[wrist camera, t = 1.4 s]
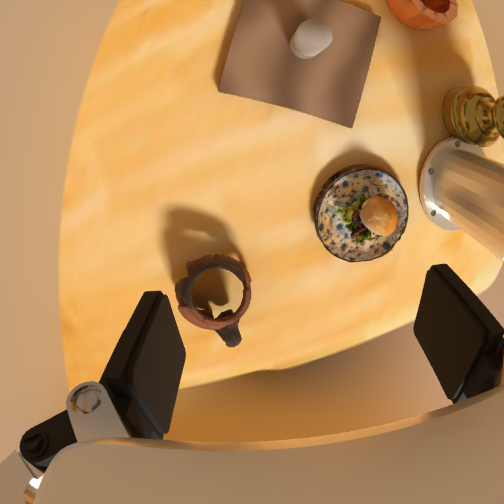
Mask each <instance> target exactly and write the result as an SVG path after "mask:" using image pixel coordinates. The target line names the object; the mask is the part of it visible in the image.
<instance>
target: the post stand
mask: <svg viewBox="0 0 504 504" xmlns="http://www.w3.org/2000/svg"><path fill="white" fill-rule="evenodd" d="M380 19H381V17H380V16H377V15H375V14H373V13H371V12H369V11H366V10H364V9H361V8H359V7H357V6H354V5H352V4H349V3H347V2H344V1H341V0H244V3H243V6H242V9H241V12H240V15H239V18H238V22H237V25H236V28H235V31H234V35H233V38H232V41H231V45H230V48H229V52H228V55H227V59H226V63H225V66H224V70H223V74H222V77H221V81H220V85H219V89H218V92H221V93H226V94H231V95H236V96H240V97H245V98H249V99H254V100H258V101H262V102H266V103H270V104H274V105H278V106H281V107H285V108H289V109H292V110H296V111H299V112H303V113H306V114H309V115H312V116H316V117H319V118H322V119H325V120H328V121H331V122H334V123H337V124H340V125H343V126H345V127H349V128H352V127H353V123H354V120H355V117H356V113H357V110H358V106H359V103H360V99H361V95H362V92H363V88H364V84H365V81H366V77H367V73H368V69H369V65H370V61H371V57H372V53H373V49H374V45H375V41H376V37H377V32H378V28H379V23H380Z"/></svg>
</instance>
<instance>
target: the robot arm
mask: <svg viewBox="0 0 504 504" xmlns="http://www.w3.org/2000/svg"><path fill="white" fill-rule="evenodd" d="M419 191H420V200H421V204H422V207H423V209H424V212H425V214H426V215H427V217H428V218H429V219H430V220H431V221H432V222H433V223H434V224H435V225H437V226H438V227H440V228H442V229H444V230H450V231H454V230H459V229H462V230H463V231H465V232H466V233H467V234H469V235H470V236H471V237H473V238H474V239H475V240H476V241H478V242H479V243H480V244H482V245H483V246H484V247H485V248H487V249H488V250H489V251H490V252H492V253H493V254H494V255H495V256H496V257H498V258H499V259H500V260H501V261H502V262H504V164H503V163H500V162H498V161H495V160H492V159H490V158H487V157H486V156H485V154H484V152H483V151H482V150H481V148H480V147H479V146H478V145H470V144H466V143H463V142H461V141H460V140H459V139H457V138H455V137H450V138H447V139H445V140H443V141H441V142H440V143H438V144H437V145H436V146H435V147H434V148H433V149H432V151H431V152H430V153H429V155H428V157H427V159H426V160H425V163H424V165H423V168H422V172H421V176H420V185H419ZM414 334H415V336H416V338H417V340H418V342H419V344H420V345H421V347H422V349H423V351H424V353H425V355H426V356H427V358H428V360H429V362H430V364H431V366H432V368H433V370H434V372H435V374H436V376H437V378H438V380H439V382H440V384H441V386H442V388H443V390H444V392H445V394H446V396H447V398H448V399H450V400H452V402H453V404H452V405H450V406H447V407H444V408H441V409H438V410H435V411H432V412H428V413H425V414H422V415H418V416H415V417H412V418H408V419H404V420H401V421H396V422H393V423H389V424H384V425H380V426H376V427H371V428H366V429H361V430H356V431H350V432H344V433H338V434H332V435H326V436H318V437H310V438H301V439H292V440H279V441H263V442H188V441H171V440H163V435H164V433H166V434H167V433H168V431H169V428H170V423H171V418H172V414H173V410H174V405H175V401H176V397H177V392H178V388H179V384H180V379H181V375H182V371H183V367H184V363H185V358H186V352H185V348H184V345H183V342H182V339H181V336H180V333H179V330H178V327H177V324H176V321H175V318H174V315H173V312H172V308H171V305H170V302H169V299H168V296H167V295H166V294H165V295H163V293H162V292H161V291H146V292H144V294H143V296H142V297H141V299H140V301H139V303H138V305H137V307H136V309H135V311H134V313H133V315H132V317H131V318H130V320H129V322H128V324H127V326H126V328H125V330H124V331H123V333H122V335H121V337H120V339H119V341H118V343H117V345H116V347H115V349H114V351H113V353H112V355H111V358H110V360H109V362H108V364H107V366H106V368H105V370H104V372H103V375H102V377H101V379H100V381H99V383H98V382H93V381H90V382H84V383H81V384H79V385H78V386H76V387H75V388H74V389H73V390H72V391H71V392H70V394H69V395H68V397H67V401H66V405H67V410H65V411H63V412H61V413H59V414H57V415H55V416H54V417H52V418H50V419H48V420H46V421H44V422H43V423H40V424H38V425H36V426H34V427H33V428H31V429H29V430H28V431H26V433H25V434H24V435H23V437H22V439H21V441H20V452H17V451H16V450H15V451H14V452H13V453H11V454H10V455H9V456H8V457H7V458H6V459H5V460H4V461H3V462H2V463H1V464H0V504H504V338H503V335H504V328H503V327H502V326H501V325H500V323H499V322H498V321H497V320H496V319H495V317H494V316H493V315H492V314H491V313H490V311H489V310H488V309H487V308H486V307H485V306H484V304H483V303H482V302H481V301H480V300H479V298H478V297H477V296H476V295H475V294H474V293H473V292H472V291H471V289H470V288H469V287H468V286H467V285H466V284H465V283H464V282H463V281H462V280H461V279H460V277H459V276H458V275H457V274H456V273H455V272H454V271H453V270H452V269H451V268H450V267H449V266H448V265H447V264H438V265H433V266H431V268H430V270H428V271H427V273H426V278H425V283H424V287H423V291H422V296H421V300H420V304H419V308H418V312H417V316H416V319H415V323H414Z"/></svg>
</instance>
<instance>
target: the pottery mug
mask: <svg viewBox="0 0 504 504" xmlns="http://www.w3.org/2000/svg"><path fill="white" fill-rule="evenodd" d="M186 267H187V272H188V277H187V278H183V279H181V280H180V281H179V283H176V284H175V292H176V299H177V301H178V303H179V305H178V309H179V311H180V313H181V314H182V316H183V317H184V318H185V319H186V320H188V321H189V322H190V323H192V324H194V325H196V326H198V327H200V328H203V329H210V330H215V331H216V332H217V333H218V334H219V335H220V337H221V338H222V339H223V341H225V342H226V345H227V346H228V347H235V346H236V345H239V344H240V342H241V340H242V338H241V335H240V332H239V329H238V323H239V319H240V318H241V317H242V315H243V314H244V313H245V312H246V310H247V309H248V307H249V304H250V300H251V287H250V283H251V278H250V275H249V273H248V271H247V269H246V268H245V267H244V265H243V264H242V263H241V262H239V261H237V260H235V259H233V258H231V257H228V256H225V255H219V254H215V255H214V257H213V256H211V255H207V256H204V257H202V258H200V259H198V260H195V261H192V262H188V263H186ZM213 268H221V269H226V270H229V271H231V272H232V273H234V274H235V275H236V276H237V277H238V278H239V279H240V280H241V281H242V282H243V286H244V289H243V299H242V302H241V305H240V307H239V308H238V309H237V311H236V312H235V313H233V311H232V310H231V309H229V310H227V311H225V312H221V313H220V315H219V316H218V317H217V318H215V319H214V316H213V314H212V310H199V309H197V308H196V306H195V305H194V302H193V299H192V289H193V285H194V283H195V281H196V279H197V278H198V276H199V275H201V274H202V273H203V272H205V271H207V270H209V269H213Z"/></svg>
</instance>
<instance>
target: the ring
mask: <svg viewBox="0 0 504 504" xmlns="http://www.w3.org/2000/svg"><path fill="white" fill-rule="evenodd" d="M386 1H387V3H388V6H389V8H390V10H391V11H392V13H393V14H394V15H395V16H396V17H397V18H398V19H399V20H400V21H401V22H402V23H404V24H406V25H408V26H410V27H411V28H413V29H424V30H427V29H430V28H433V27H436V26H440V25H443V24H446V23H449V22H451V21H452V20H453V19H454V18H456V17H457V8H458V5H457V2H456V0H424V1H425V3H426V6H427V7H426V6H425V5H424V4H423V3H422V2H421V1H420V0H386Z"/></svg>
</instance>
